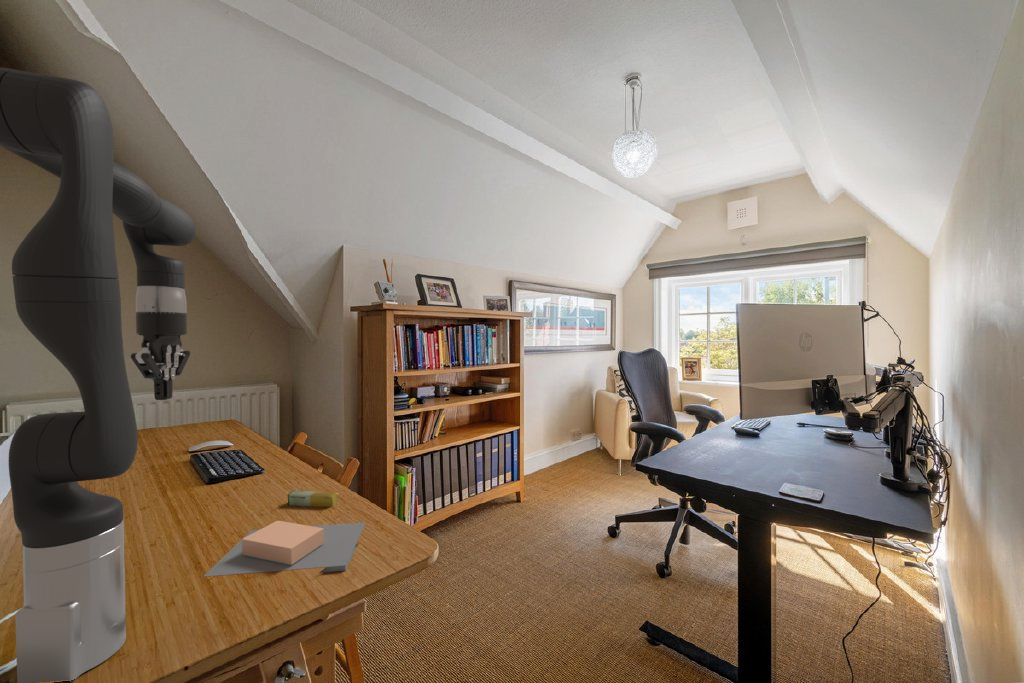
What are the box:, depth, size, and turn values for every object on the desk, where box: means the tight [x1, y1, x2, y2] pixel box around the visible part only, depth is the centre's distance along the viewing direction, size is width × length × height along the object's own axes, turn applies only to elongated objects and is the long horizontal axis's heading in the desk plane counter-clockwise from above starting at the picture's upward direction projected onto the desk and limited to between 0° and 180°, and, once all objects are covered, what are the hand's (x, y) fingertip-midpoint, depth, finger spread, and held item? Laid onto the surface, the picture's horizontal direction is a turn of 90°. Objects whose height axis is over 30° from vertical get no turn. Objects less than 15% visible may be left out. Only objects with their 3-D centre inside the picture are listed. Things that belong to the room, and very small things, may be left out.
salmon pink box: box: [241, 520, 324, 566], centre depth 79 cm, size 3×8×12 cm
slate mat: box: [202, 522, 367, 578], centre depth 81 cm, size 17×24×1 cm
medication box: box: [287, 490, 338, 508], centre depth 101 cm, size 12×3×4 cm, turn 84°
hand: (163, 399), depth 79 cm, fingers closed
